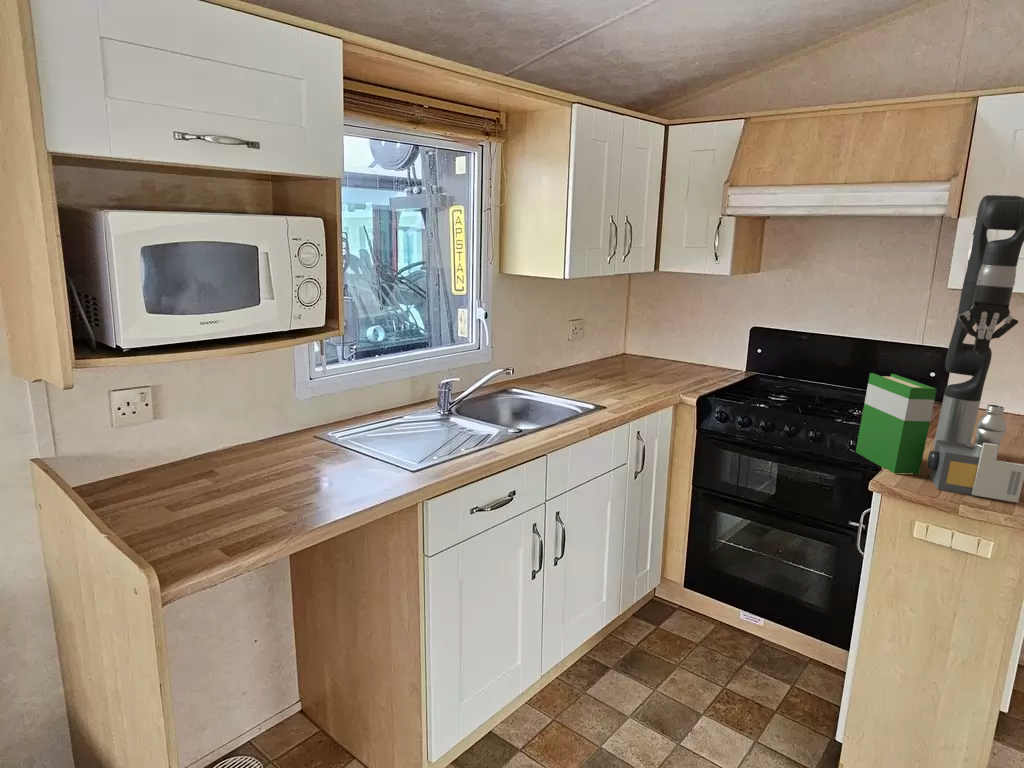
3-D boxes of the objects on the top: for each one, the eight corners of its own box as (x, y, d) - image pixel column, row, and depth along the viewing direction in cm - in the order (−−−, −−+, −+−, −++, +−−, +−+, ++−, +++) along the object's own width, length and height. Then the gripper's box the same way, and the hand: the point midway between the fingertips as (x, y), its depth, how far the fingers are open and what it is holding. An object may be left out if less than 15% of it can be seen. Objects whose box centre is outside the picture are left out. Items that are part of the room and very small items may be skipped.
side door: (971, 493, 173) (983, 442, 169) (1016, 501, 169) (1029, 449, 166) (972, 495, 172) (984, 443, 168) (1018, 502, 168) (1030, 450, 165)
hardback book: (855, 452, 203) (870, 373, 197) (878, 452, 203) (893, 374, 198) (893, 473, 186) (910, 387, 180) (919, 474, 186) (936, 388, 181)
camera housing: (922, 473, 187) (930, 435, 185) (971, 481, 183) (980, 443, 180) (930, 488, 176) (939, 448, 174) (983, 497, 172) (992, 456, 170)
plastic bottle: (966, 470, 192) (981, 401, 187) (995, 477, 188) (1012, 406, 183) (963, 476, 187) (979, 405, 182) (993, 483, 183) (1010, 411, 178)
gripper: (1022, 285, 169) (1006, 354, 173) (960, 281, 173) (946, 348, 177) (1031, 287, 162) (1015, 359, 166) (967, 282, 167) (952, 352, 170)
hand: (979, 353), depth 172 cm, fingers closed
